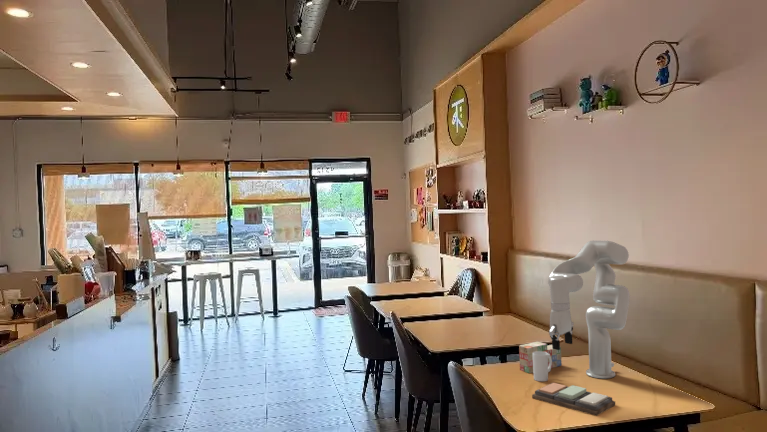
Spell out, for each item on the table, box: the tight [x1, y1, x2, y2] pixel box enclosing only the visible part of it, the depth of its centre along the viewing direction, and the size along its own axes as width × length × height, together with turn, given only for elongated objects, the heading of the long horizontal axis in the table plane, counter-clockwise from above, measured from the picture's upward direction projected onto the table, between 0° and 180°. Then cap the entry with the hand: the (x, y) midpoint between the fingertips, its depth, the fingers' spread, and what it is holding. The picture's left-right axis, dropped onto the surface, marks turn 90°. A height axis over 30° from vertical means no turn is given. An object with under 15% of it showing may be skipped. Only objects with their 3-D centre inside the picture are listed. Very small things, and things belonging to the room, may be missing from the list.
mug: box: [532, 351, 552, 382], centre depth 253 cm, size 10×7×12 cm, turn 116°
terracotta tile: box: [539, 382, 567, 395], centre depth 230 cm, size 11×6×2 cm, turn 132°
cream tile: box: [580, 392, 609, 406], centre depth 217 cm, size 11×6×2 cm, turn 132°
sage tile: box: [559, 385, 587, 400], centre depth 223 cm, size 11×6×2 cm, turn 132°
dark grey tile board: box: [531, 382, 616, 417], centre depth 224 cm, size 15×28×3 cm, turn 42°
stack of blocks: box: [518, 341, 562, 374], centre depth 269 cm, size 21×6×12 cm, turn 118°
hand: (562, 346), depth 232 cm, fingers open, 9 cm apart
